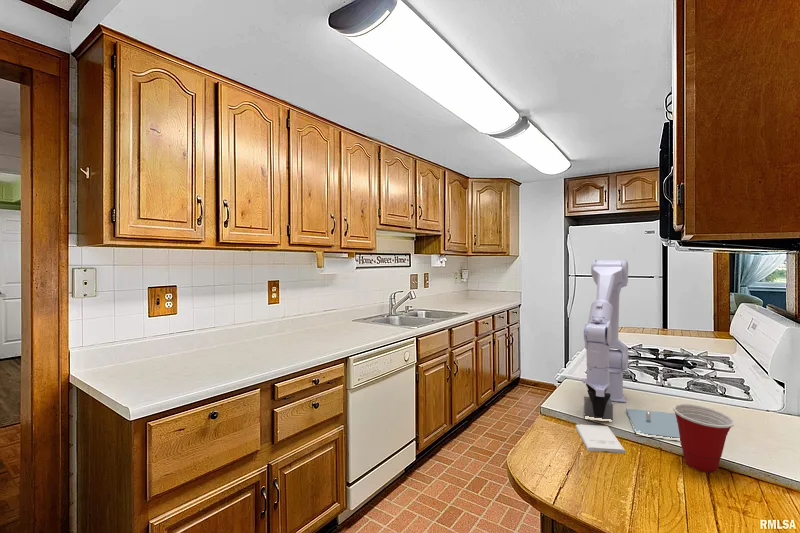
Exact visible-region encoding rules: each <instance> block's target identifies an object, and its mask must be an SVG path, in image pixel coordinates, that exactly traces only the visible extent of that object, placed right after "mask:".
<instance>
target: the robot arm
mask: <svg viewBox="0 0 800 533" xmlns="http://www.w3.org/2000/svg"><path fill="white" fill-rule="evenodd" d="M628 262H629V261H627V260H626V259H594V260H593V261H592V262H591V266H590V268H591V269H590V273H591V277H592V278H593V281H594V283H595V285H596V298H595V300H594V301H593V302H592V303H591V305H590V308H589V309H590V310H589V315H588V320H587V323H586V324H585V325H584V327H583V341H584V348H585V351H586V378H581V382H582V383H583V384H585V387H586V388H587V394H588V397H590V399H591V401H592V406H593V411H594V415H595V417H603V416H604V412H605V407H606V404H607V402H608V400H609V399H611V401H612V402H616V403H617V402H618V403H627V400H626V397H625V394H624V383H623V382H624V381H623V380H624V378H623V377H624V376H623V375H624V373H623V372H626V371H627V370H628V367H629V348H628V346H627V344H625V343H624V342H623V341H621V340H620V339H619V326H620V325H619V323H620V321H619V320H620V295H621V290H622V288H624V287H627V286H628V283H629V263H628Z"/></svg>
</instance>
